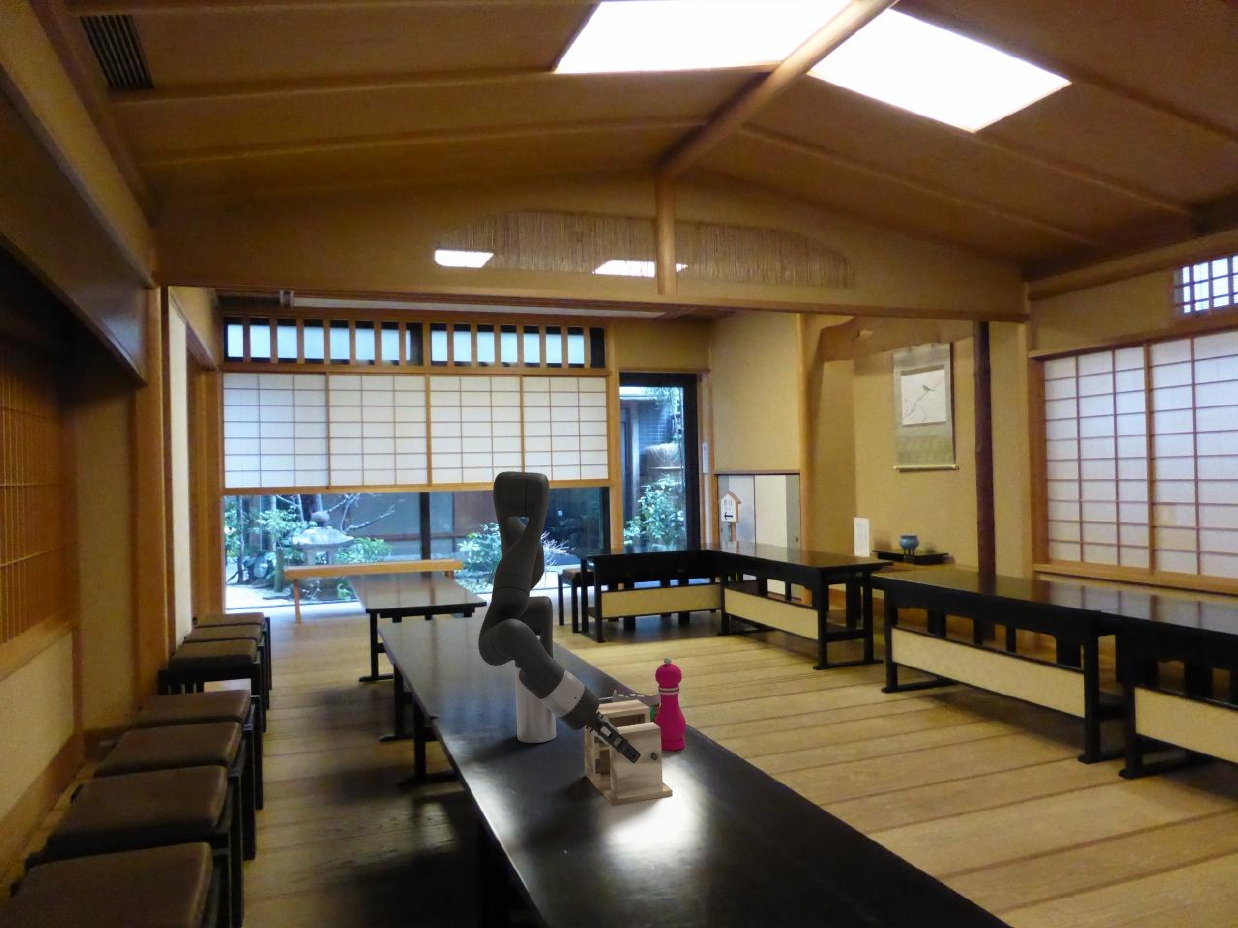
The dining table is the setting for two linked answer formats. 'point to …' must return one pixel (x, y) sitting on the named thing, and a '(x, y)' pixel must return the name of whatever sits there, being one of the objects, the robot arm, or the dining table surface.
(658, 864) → the dining table surface
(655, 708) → the food container
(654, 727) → the door
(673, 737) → the pepper mill
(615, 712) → the cabinet
